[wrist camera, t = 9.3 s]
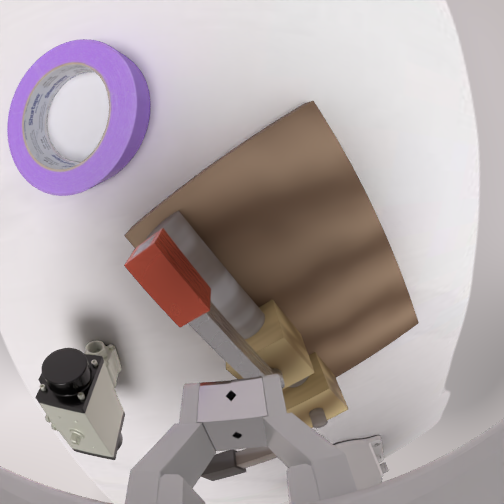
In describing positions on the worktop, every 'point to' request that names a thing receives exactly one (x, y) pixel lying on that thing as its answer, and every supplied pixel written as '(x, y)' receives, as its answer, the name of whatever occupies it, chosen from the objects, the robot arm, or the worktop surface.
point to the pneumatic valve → (84, 398)
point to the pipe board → (290, 263)
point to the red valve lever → (192, 302)
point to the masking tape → (37, 107)
